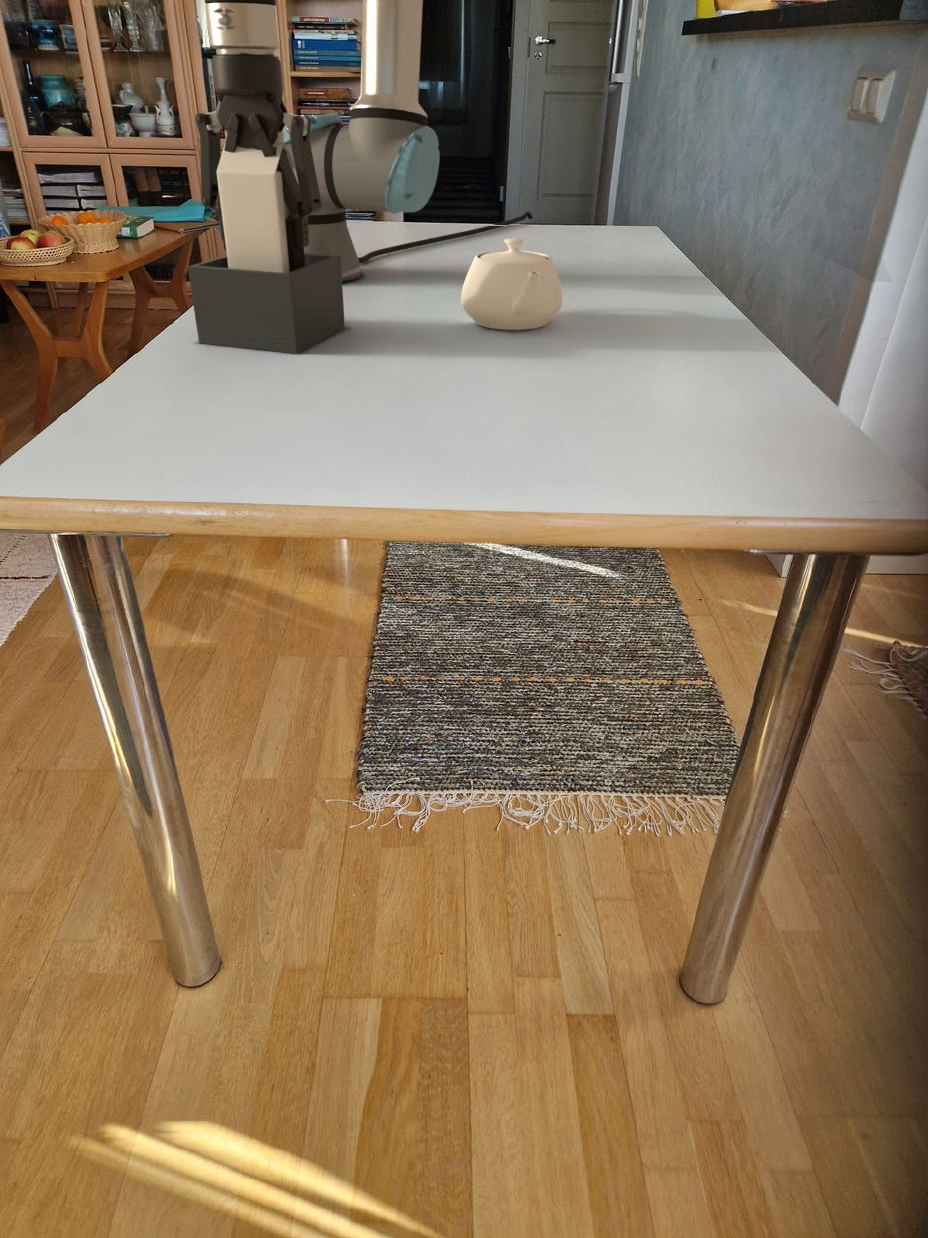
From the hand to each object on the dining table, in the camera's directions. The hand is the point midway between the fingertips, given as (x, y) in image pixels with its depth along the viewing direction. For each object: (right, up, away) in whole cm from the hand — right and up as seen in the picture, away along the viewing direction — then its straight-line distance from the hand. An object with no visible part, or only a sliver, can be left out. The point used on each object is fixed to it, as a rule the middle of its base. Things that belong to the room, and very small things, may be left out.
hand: (268, 272), depth 107 cm
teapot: (+31, -3, +11) cm, 33 cm away
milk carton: (0, -3, +2) cm, 4 cm away
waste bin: (0, -6, +4) cm, 8 cm away
